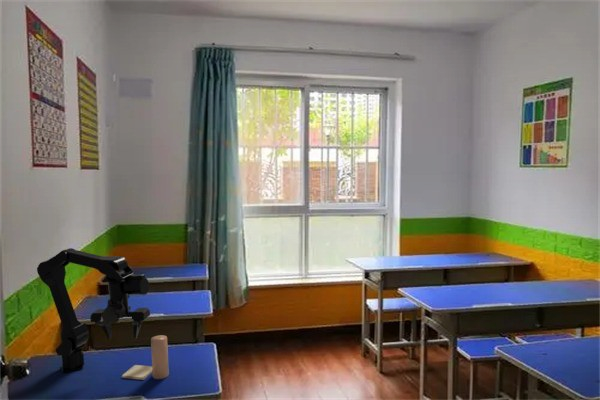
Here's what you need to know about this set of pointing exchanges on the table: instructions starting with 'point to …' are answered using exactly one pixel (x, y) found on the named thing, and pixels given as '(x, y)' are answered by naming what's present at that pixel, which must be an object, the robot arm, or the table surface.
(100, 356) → the table surface
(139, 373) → the coaster
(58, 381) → the table surface
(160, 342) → the tan rounded cylinder
